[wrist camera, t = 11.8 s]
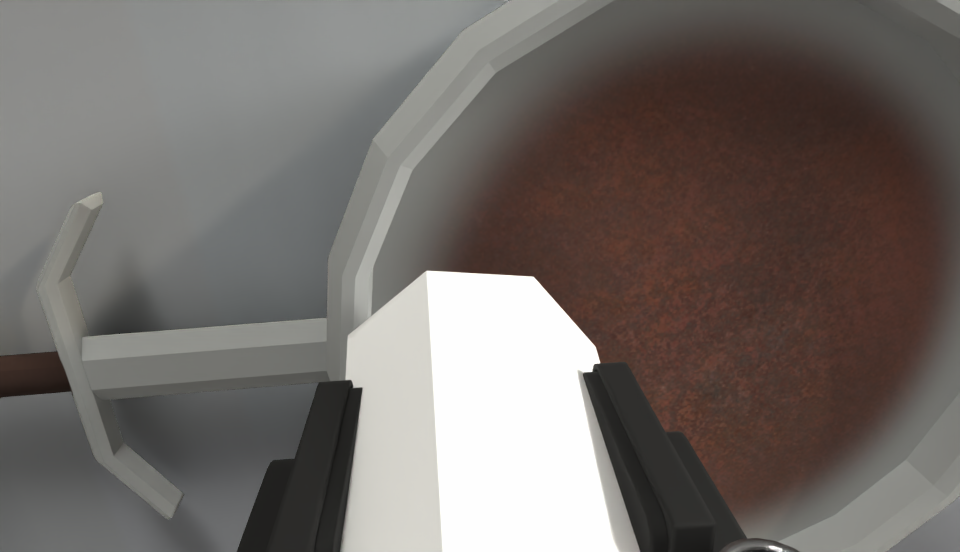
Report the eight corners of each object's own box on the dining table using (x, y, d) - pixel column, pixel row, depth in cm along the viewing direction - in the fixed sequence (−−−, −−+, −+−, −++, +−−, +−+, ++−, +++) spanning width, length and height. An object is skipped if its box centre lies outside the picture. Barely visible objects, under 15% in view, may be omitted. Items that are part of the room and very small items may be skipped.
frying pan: (-454, -24, 10) (1255, -120, 11) (-265, -16, 13) (1093, -92, 14) (-57, 701, 17) (1001, 613, 17) (14, 605, 19) (926, 532, 20)
